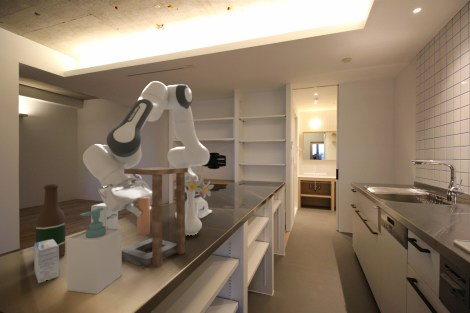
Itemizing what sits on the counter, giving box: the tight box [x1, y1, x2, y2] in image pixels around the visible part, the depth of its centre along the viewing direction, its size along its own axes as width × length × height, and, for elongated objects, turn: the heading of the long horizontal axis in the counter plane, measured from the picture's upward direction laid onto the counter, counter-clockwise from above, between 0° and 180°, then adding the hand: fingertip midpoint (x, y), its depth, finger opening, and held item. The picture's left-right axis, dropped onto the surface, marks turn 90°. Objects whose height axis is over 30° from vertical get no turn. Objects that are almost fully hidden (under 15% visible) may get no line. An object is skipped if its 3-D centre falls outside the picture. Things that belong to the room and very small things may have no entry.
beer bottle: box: [35, 183, 66, 260], centre depth 71 cm, size 8×8×24 cm
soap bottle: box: [66, 208, 123, 295], centre depth 56 cm, size 9×9×19 cm
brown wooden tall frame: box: [122, 166, 188, 269], centre depth 72 cm, size 14×16×29 cm
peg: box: [136, 197, 151, 236], centre depth 73 cm, size 4×4×12 cm
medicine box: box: [33, 239, 60, 284], centre depth 60 cm, size 8×4×9 cm, turn 48°
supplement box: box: [90, 202, 119, 229], centre depth 94 cm, size 7×7×13 cm
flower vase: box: [172, 176, 215, 237], centre depth 93 cm, size 13×18×25 cm
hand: (145, 212), depth 73 cm, fingers closed on peg, 4 cm apart
